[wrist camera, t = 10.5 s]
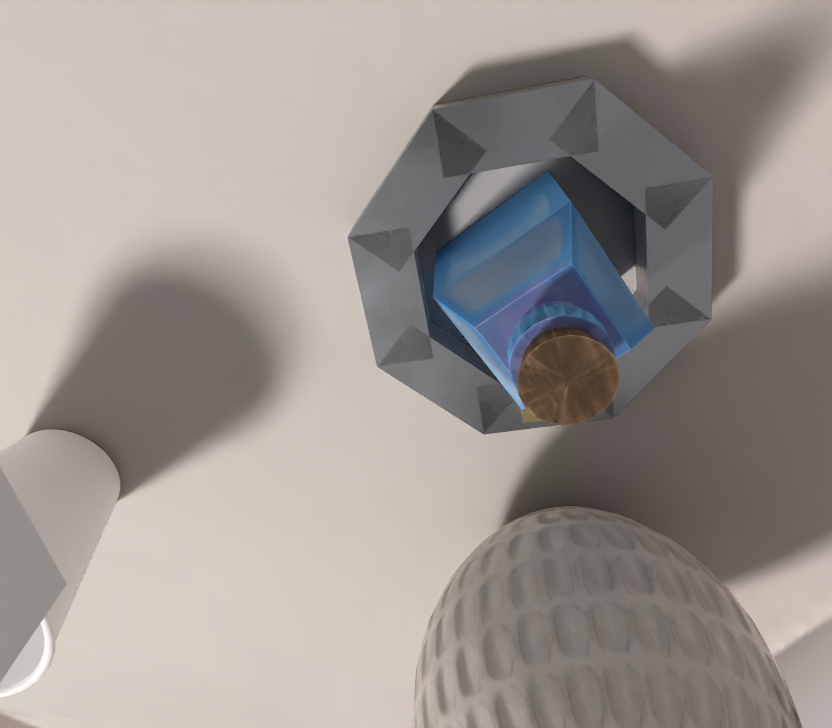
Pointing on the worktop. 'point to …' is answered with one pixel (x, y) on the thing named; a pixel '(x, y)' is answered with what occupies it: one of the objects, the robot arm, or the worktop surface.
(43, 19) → the worktop surface
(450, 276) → the perfume bottle
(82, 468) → the cup
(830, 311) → the worktop surface
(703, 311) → the ring
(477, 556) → the vase
